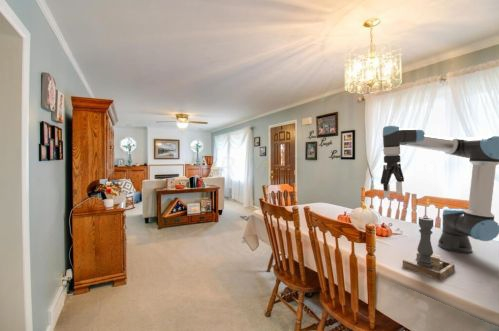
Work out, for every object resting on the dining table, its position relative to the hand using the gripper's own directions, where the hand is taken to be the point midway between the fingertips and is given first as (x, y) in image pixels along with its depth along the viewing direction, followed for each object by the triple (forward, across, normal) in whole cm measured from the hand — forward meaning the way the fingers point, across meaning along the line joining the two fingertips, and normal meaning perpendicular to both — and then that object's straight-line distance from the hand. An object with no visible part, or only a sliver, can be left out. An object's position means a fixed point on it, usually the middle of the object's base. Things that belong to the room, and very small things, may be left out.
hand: (393, 195), depth 126 cm
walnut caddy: (+35, -1, +14) cm, 37 cm away
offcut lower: (+35, -5, +14) cm, 38 cm away
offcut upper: (+32, -5, +14) cm, 35 cm away
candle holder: (+35, +2, +14) cm, 37 cm away
